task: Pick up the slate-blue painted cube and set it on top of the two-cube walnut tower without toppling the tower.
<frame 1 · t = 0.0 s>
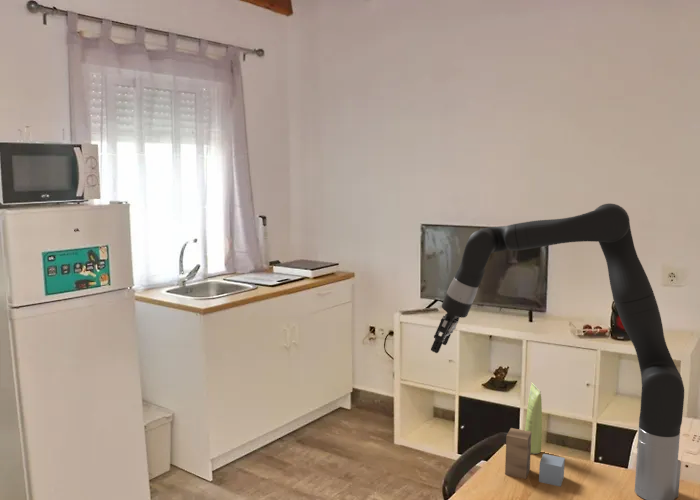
hand: (438, 347, 177), 31 cm above the table, tool tilted 20°, fingers open, 8 cm apart
tube: (532, 451, 183), on the table
slate block: (551, 479, 166), on the table
tower lower: (517, 472, 170), on the table, touching tower upper
tower upper: (518, 453, 170), point 5 cm above the table, touching tower lower
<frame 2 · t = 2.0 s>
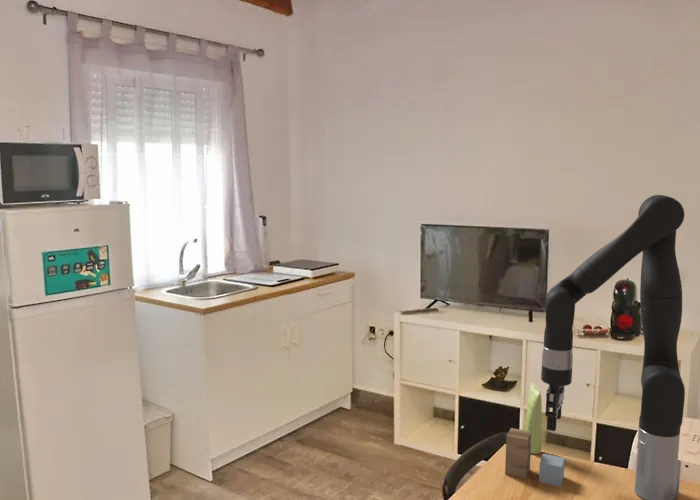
hand: (553, 423, 164), 15 cm above the table, tool pointing down, fingers open, 8 cm apart
nothing on the table moved.
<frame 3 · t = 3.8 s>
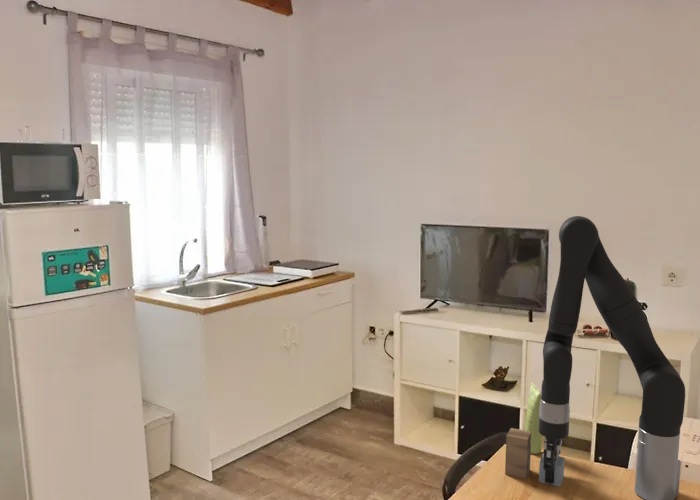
hand: (551, 477, 166), 1 cm above the table, tool pointing down, fingers closed on slate block, 5 cm apart
slate block: (551, 479, 166), on the table, touching gripper
everything else where it was.
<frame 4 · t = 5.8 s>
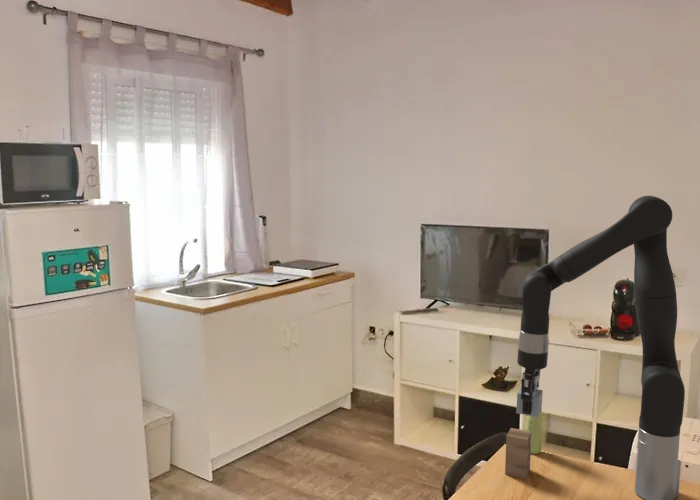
hand: (528, 409, 167), 18 cm above the table, tool pointing down, fingers closed on slate block, 5 cm apart
slate block: (528, 411, 167), point 18 cm above the table, touching gripper
everything else where it was.
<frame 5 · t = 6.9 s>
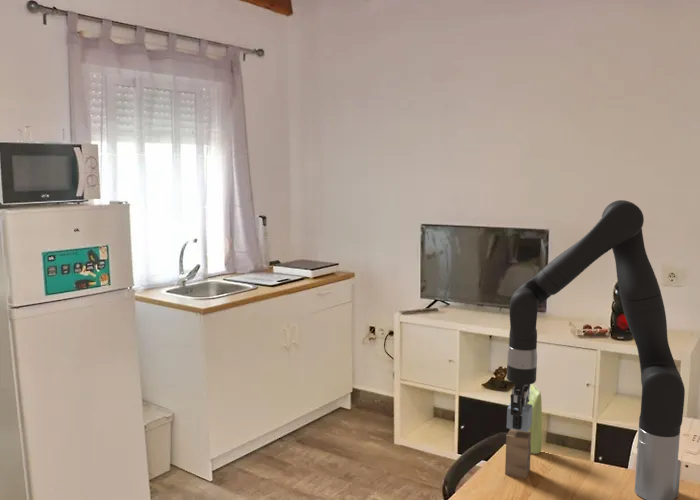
hand: (519, 424, 168), 14 cm above the table, tool pointing down, fingers closed on slate block, 5 cm apart
slate block: (519, 426, 168), point 13 cm above the table, touching gripper
everything else where it was.
when the fingers open (12 cm above the table, at t = 7.7 s): slate block stays where it is, resting on tower upper.
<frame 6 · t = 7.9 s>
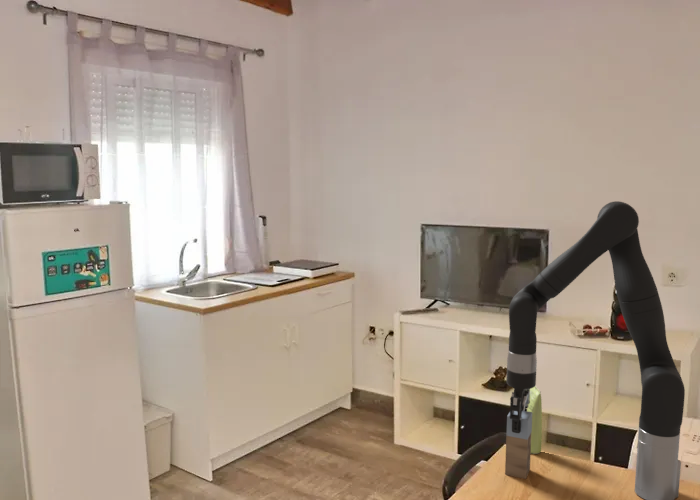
hand: (519, 426, 168), 13 cm above the table, tool pointing down, fingers open, 7 cm apart
slate block: (519, 433, 169), point 11 cm above the table, touching tower upper
tower upper: (518, 453, 170), point 5 cm above the table, touching slate block, tower lower
everything else where it was.
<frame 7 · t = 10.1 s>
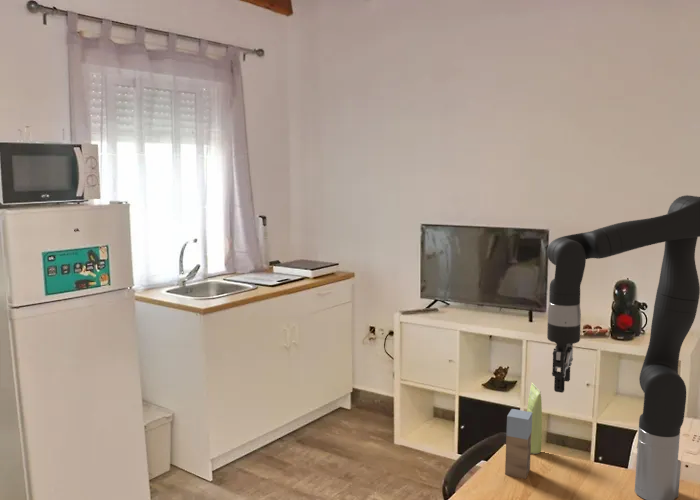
hand: (562, 386, 153), 29 cm above the table, tool pointing down, fingers open, 8 cm apart
nothing on the table moved.
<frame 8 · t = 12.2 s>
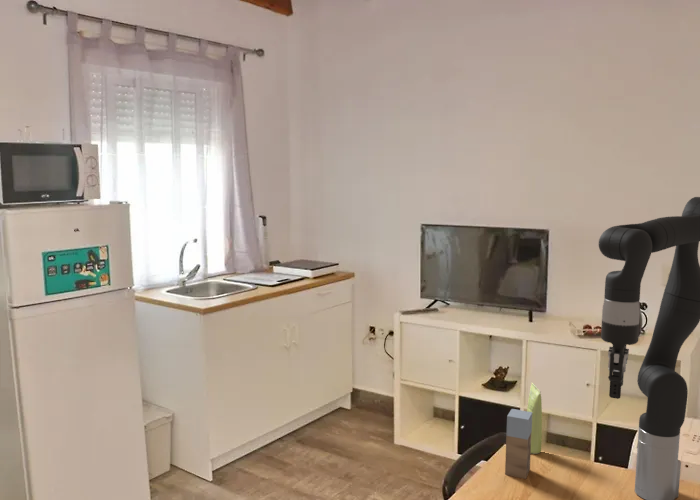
hand: (616, 391, 139), 33 cm above the table, tool pointing down, fingers open, 8 cm apart
nothing on the table moved.
at the end: slate block 0.0 cm off-centre on the tower upper, point 5.5 cm above the tower upper's base; tower upper tilted 0°; slate block tilted 0° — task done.
